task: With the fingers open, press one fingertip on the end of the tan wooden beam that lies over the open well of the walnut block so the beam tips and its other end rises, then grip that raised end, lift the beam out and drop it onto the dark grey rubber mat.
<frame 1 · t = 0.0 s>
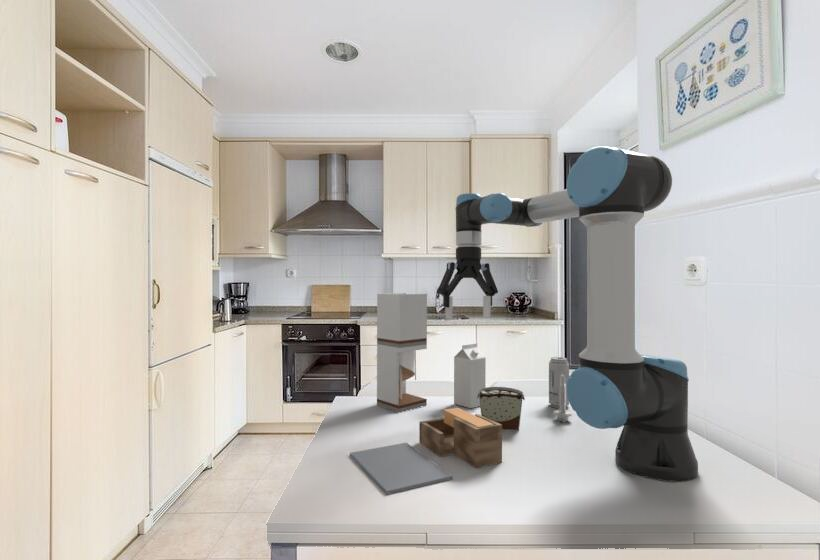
hand: (468, 318, 129), 28 cm above the table, tool pointing down, fingers open, 13 cm apart
energy drink can: (558, 406, 136), on the table
food container: (499, 427, 117), on the table
milk carton: (469, 405, 138), on the table
white cabinet tower: (401, 406, 136), on the table
pocket block: (466, 451, 99), on the table
mat: (397, 466, 91), on the table
screw: (562, 421, 122), on the table
tan wooden beam: (467, 429, 99), point 5 cm above the table, touching pocket block
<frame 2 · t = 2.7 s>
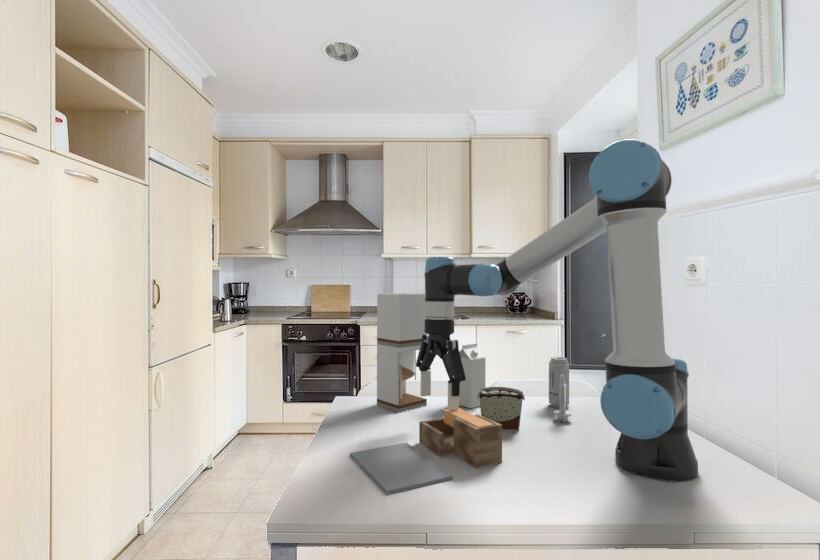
hand: (438, 402, 110), 8 cm above the table, tool pointing down, fingers open, 13 cm apart
tan wooden beam: (467, 429, 99), point 5 cm above the table, touching gripper, pocket block
everything else where it was.
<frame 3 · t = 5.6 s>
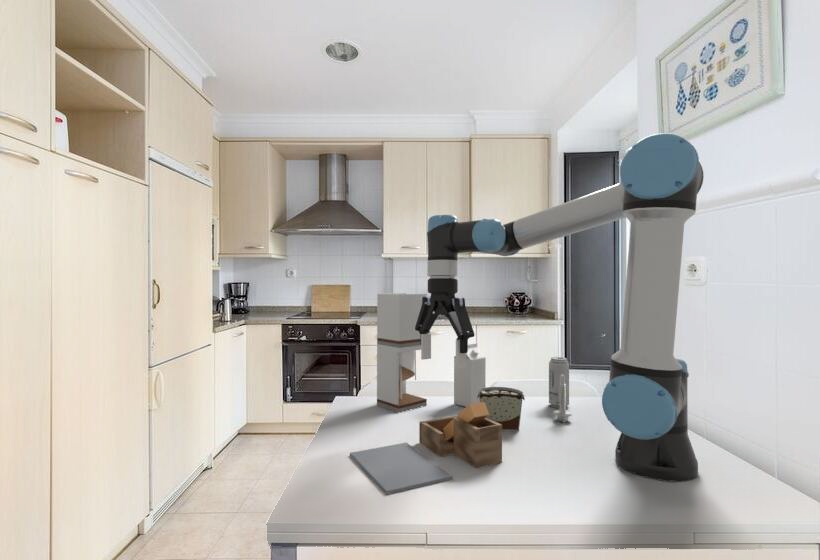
hand: (442, 362, 109), 18 cm above the table, tool pointing down, fingers open, 13 cm apart
tan wooden beam: (467, 428, 99), point 5 cm above the table, tilted 38°, touching pocket block
everything else where it was.
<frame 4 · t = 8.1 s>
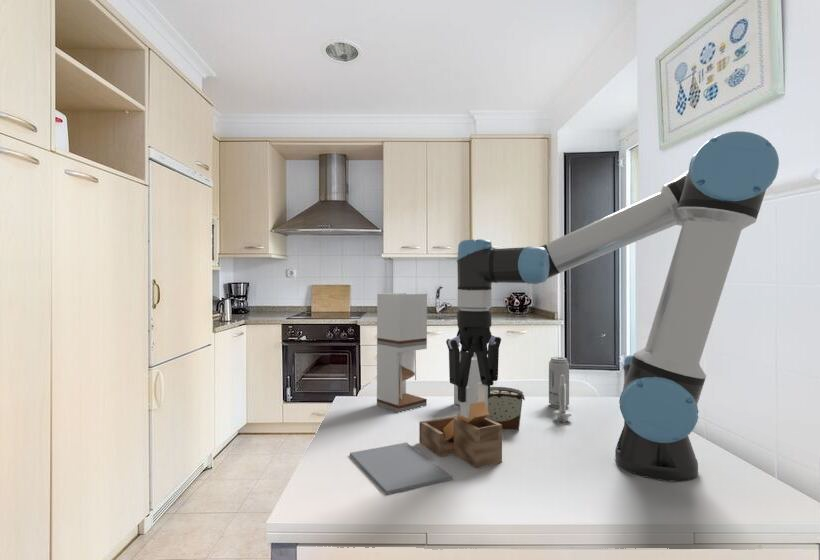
hand: (474, 414, 97), 9 cm above the table, tool pointing down, fingers closed on tan wooden beam, 4 cm apart
tan wooden beam: (467, 428, 99), point 5 cm above the table, tilted 38°, touching gripper, pocket block
everything else where it was.
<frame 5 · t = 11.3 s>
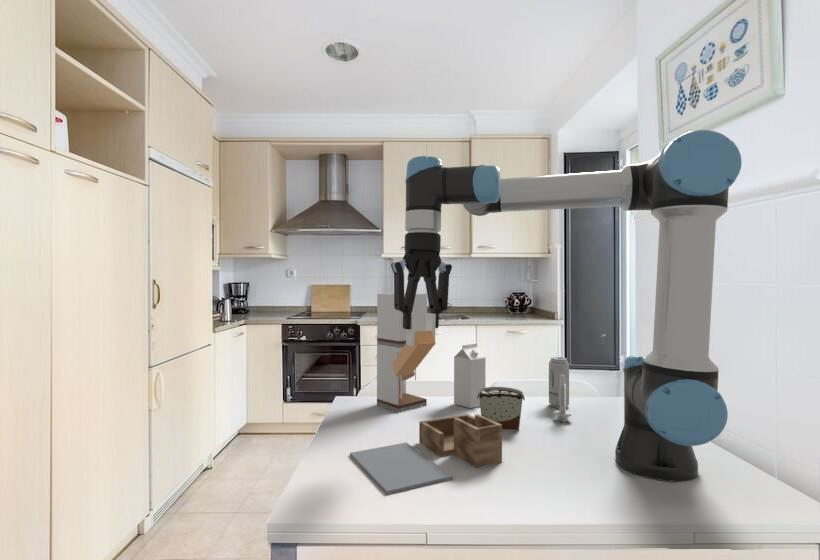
hand: (420, 344, 91), 25 cm above the table, tool pointing down, fingers closed on tan wooden beam, 4 cm apart
tan wooden beam: (414, 360, 93), point 22 cm above the table, tilted 37°, touching gripper
everything else where it was.
when the fingers open (11 cm above the table, at t = 14.4 s): tan wooden beam drops 7 cm, resting on mat.
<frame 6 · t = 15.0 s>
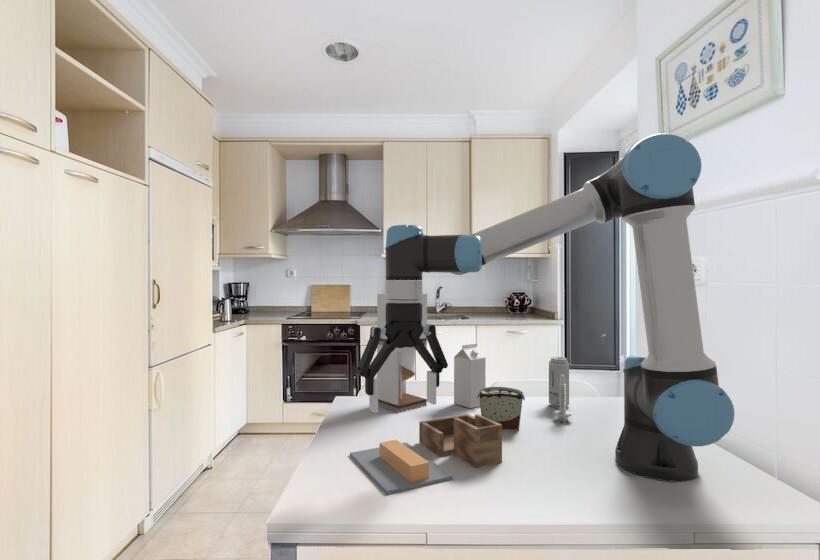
hand: (403, 406, 89), 13 cm above the table, tool pointing down, fingers open, 12 cm apart
tan wooden beam: (402, 466, 89), point 1 cm above the table, touching mat
everything else where it was.
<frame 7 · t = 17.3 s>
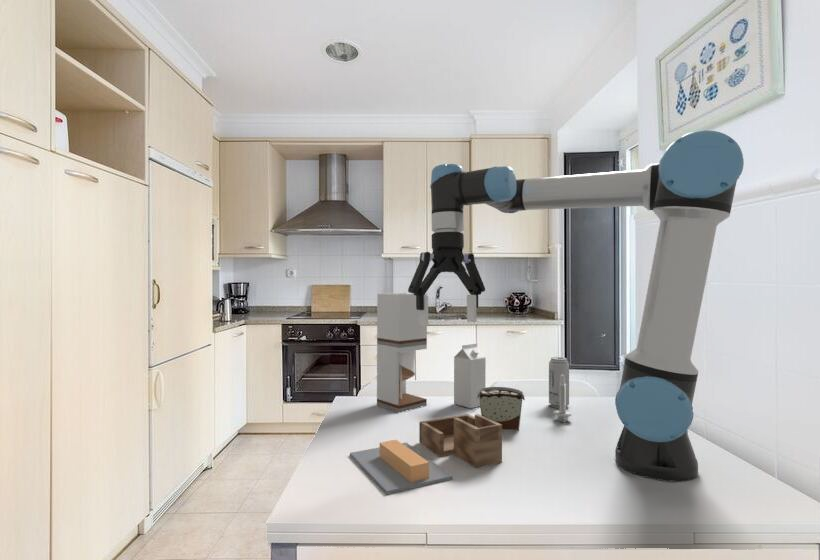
hand: (448, 323, 101), 29 cm above the table, tool pointing down, fingers open, 13 cm apart
nothing on the table moved.
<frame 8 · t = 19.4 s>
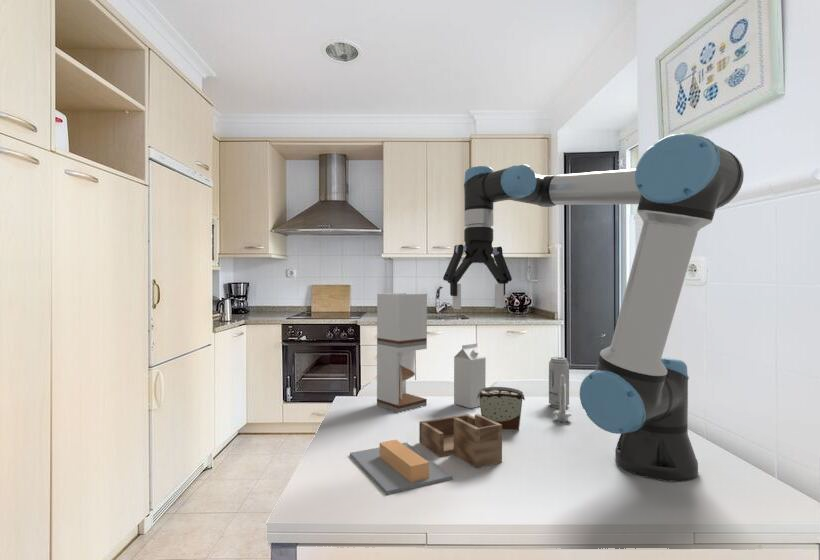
hand: (478, 308, 114), 32 cm above the table, tool pointing down, fingers open, 13 cm apart
nothing on the table moved.
at the end: tan wooden beam inside the target area on the mat (1.8 cm from its centre), point 0.6 cm above the mat's base; tan wooden beam touching mat; the gripper is holding nothing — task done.
